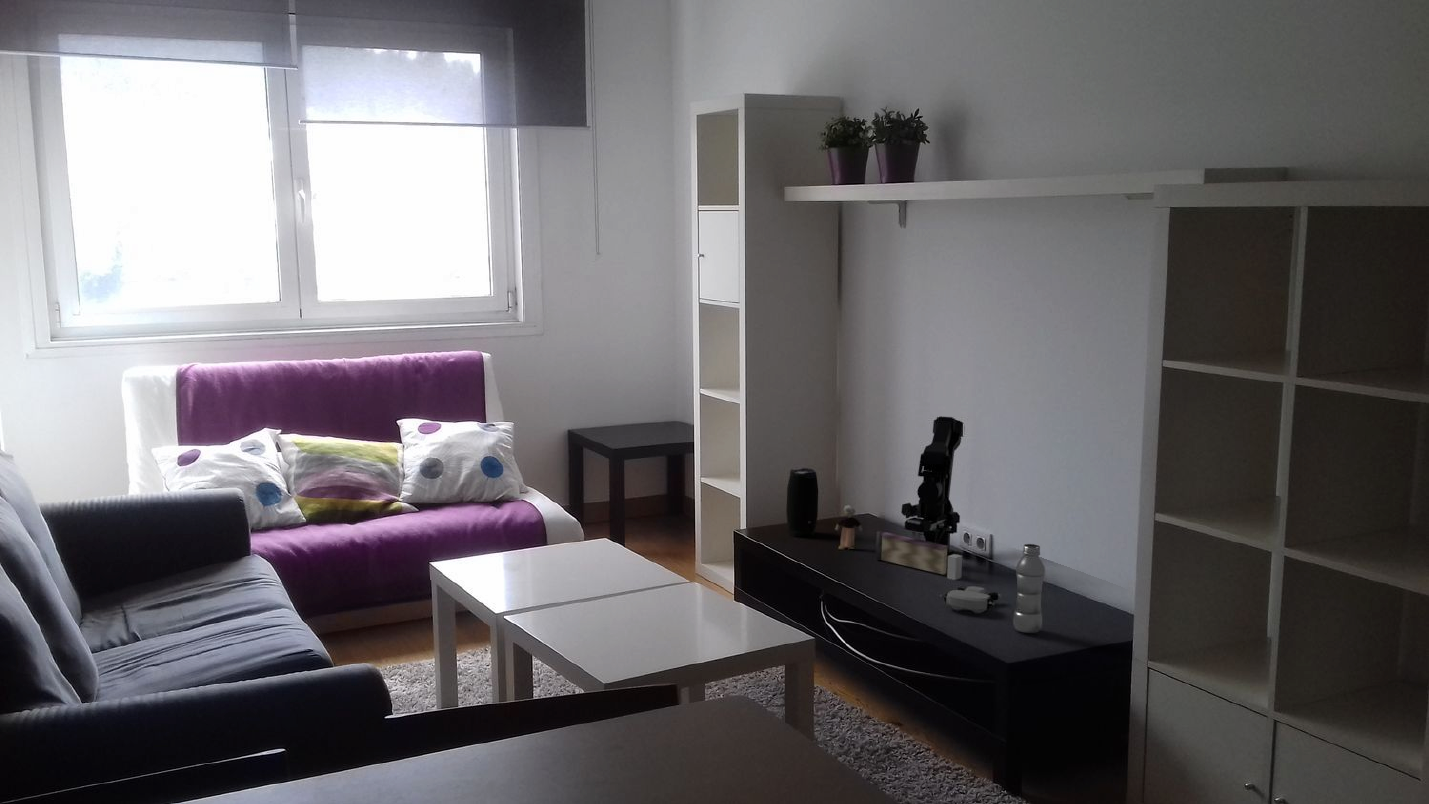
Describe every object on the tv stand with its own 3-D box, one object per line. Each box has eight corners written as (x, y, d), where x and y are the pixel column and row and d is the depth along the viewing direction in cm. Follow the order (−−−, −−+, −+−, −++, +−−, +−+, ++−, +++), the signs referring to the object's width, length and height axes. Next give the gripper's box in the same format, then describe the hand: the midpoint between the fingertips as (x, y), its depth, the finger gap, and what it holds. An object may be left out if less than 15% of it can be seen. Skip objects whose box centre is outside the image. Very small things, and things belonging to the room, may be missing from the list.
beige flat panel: (874, 558, 334) (875, 532, 333) (879, 557, 336) (880, 530, 335) (942, 574, 319) (943, 547, 318) (946, 573, 320) (948, 545, 319)
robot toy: (954, 599, 302) (937, 611, 288) (955, 581, 301) (939, 592, 288) (1003, 607, 296) (989, 619, 283) (1004, 588, 296) (990, 599, 283)
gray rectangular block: (953, 576, 320) (954, 554, 319) (961, 577, 318) (962, 555, 317) (947, 578, 317) (948, 556, 317) (954, 580, 316) (956, 557, 315)
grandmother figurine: (835, 550, 344) (837, 506, 343) (834, 546, 348) (835, 503, 347) (862, 550, 345) (864, 506, 343) (860, 547, 349) (862, 503, 347)
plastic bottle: (1038, 627, 278) (1042, 542, 275) (1044, 636, 271) (1049, 550, 268) (1009, 626, 278) (1014, 541, 275) (1015, 636, 271) (1020, 549, 268)
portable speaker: (818, 538, 358) (820, 473, 356) (787, 537, 358) (789, 472, 355) (815, 531, 367) (816, 467, 364) (784, 530, 366) (785, 467, 364)
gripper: (928, 486, 341) (925, 540, 343) (889, 495, 327) (887, 552, 329) (962, 492, 333) (959, 548, 335) (923, 502, 320) (921, 560, 322)
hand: (931, 551), depth 330 cm, fingers closed
